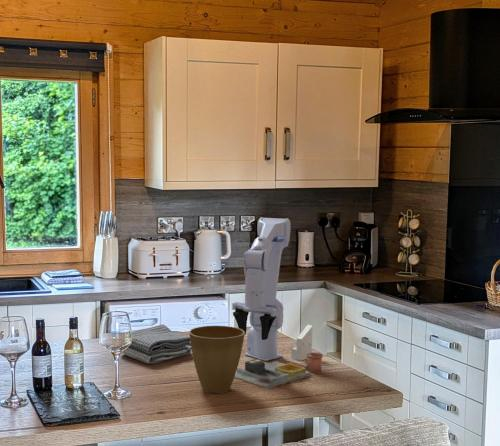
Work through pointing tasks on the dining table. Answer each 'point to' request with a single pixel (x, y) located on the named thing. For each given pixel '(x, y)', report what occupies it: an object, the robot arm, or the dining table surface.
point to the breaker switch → (255, 366)
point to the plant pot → (216, 355)
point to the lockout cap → (314, 362)
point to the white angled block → (303, 344)
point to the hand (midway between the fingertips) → (253, 337)
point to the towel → (157, 345)
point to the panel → (273, 374)
